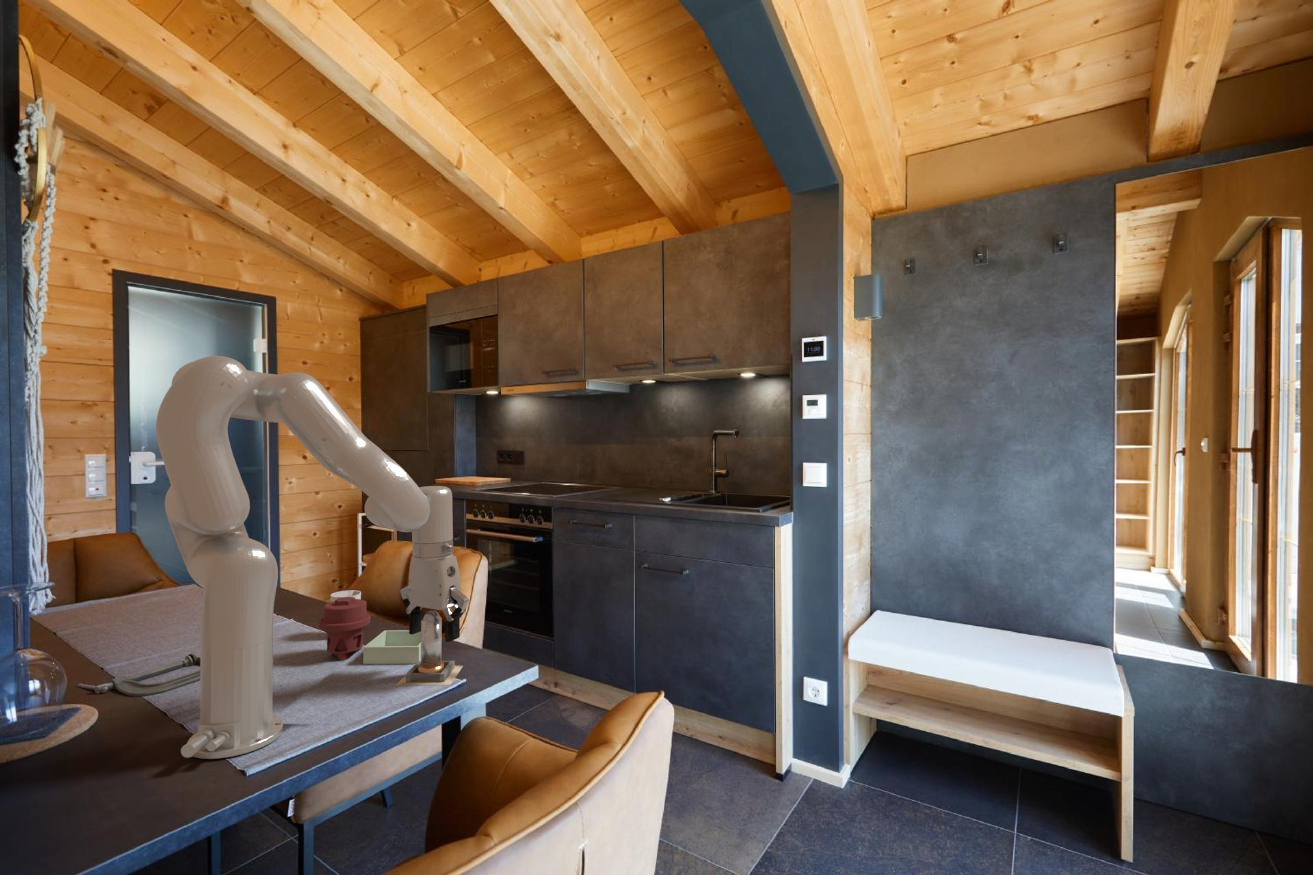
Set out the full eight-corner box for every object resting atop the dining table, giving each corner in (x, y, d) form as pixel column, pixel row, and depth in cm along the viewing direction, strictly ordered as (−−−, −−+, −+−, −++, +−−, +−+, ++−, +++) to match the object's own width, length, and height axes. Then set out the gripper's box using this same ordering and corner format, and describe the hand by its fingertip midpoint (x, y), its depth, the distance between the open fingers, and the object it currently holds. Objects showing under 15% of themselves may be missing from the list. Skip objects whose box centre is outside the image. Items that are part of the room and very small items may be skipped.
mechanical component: (346, 666, 130) (307, 660, 133) (380, 650, 139) (344, 645, 142) (346, 606, 130) (308, 602, 133) (380, 595, 139) (344, 591, 142)
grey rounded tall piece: (439, 679, 120) (440, 614, 120) (414, 679, 120) (414, 614, 120) (446, 670, 125) (447, 607, 125) (422, 670, 125) (423, 607, 125)
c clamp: (119, 709, 110) (119, 693, 110) (76, 689, 118) (76, 674, 118) (240, 671, 128) (241, 658, 128) (196, 656, 136) (196, 644, 136)
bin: (418, 669, 128) (419, 646, 128) (363, 669, 128) (363, 647, 128) (435, 650, 140) (435, 630, 140) (384, 650, 139) (384, 630, 139)
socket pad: (449, 691, 118) (449, 676, 118) (395, 691, 117) (395, 677, 117) (463, 671, 128) (463, 658, 128) (413, 671, 127) (413, 658, 127)
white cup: (366, 633, 151) (367, 592, 151) (340, 641, 145) (341, 598, 145) (350, 629, 154) (350, 588, 154) (324, 636, 149) (324, 594, 149)
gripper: (480, 549, 122) (481, 636, 122) (416, 542, 130) (417, 624, 130) (451, 557, 115) (452, 649, 115) (386, 549, 123) (387, 635, 123)
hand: (434, 636), depth 123 cm, fingers open, 9 cm apart
